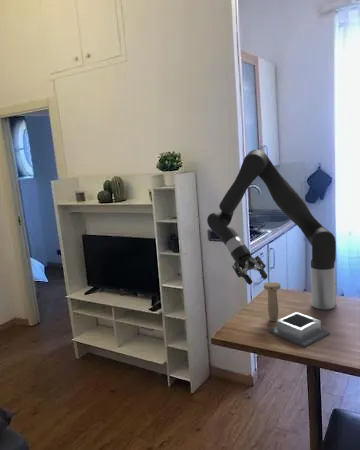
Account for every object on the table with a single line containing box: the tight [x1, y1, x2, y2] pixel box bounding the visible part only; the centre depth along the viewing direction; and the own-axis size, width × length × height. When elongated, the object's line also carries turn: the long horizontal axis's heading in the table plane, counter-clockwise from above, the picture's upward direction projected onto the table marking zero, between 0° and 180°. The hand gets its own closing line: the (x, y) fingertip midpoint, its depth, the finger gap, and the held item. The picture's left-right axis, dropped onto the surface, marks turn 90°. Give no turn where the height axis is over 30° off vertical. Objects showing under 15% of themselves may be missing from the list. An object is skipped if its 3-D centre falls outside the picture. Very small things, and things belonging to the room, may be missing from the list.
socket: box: [268, 311, 331, 348], centre depth 142 cm, size 14×16×5 cm
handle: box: [263, 281, 281, 322], centre depth 154 cm, size 5×6×15 cm
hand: (258, 280), depth 159 cm, fingers open, 8 cm apart
